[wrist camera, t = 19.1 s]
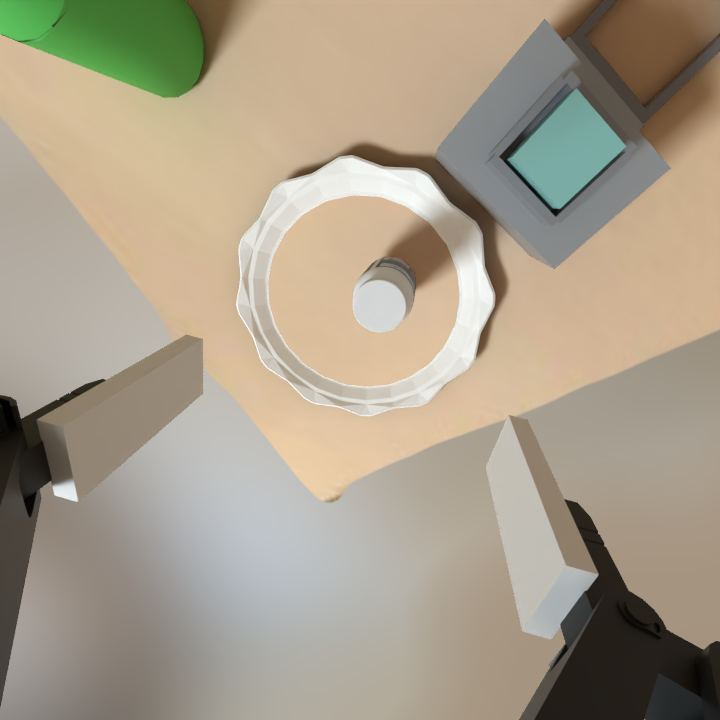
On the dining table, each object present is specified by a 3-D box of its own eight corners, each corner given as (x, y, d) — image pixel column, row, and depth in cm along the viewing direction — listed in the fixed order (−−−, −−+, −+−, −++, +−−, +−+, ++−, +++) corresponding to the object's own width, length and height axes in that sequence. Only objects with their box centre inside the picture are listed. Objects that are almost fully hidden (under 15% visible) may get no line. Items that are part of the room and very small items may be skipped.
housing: (660, -112, 27) (788, -281, 17) (769, 37, 29) (936, -42, 19) (435, 158, 36) (438, 143, 27) (530, 255, 38) (564, 274, 29)
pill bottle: (378, 315, 42) (363, 347, 33) (355, 270, 40) (333, 291, 31) (425, 294, 40) (423, 323, 31) (403, 246, 38) (394, 261, 29)
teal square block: (560, 99, 26) (576, 88, 23) (605, 151, 26) (626, 146, 24) (503, 161, 28) (512, 157, 25) (547, 207, 28) (560, 208, 26)
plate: (546, 293, 40) (553, 299, 38) (371, 441, 52) (369, 452, 50) (345, 91, 35) (340, 84, 33) (204, 304, 47) (194, 309, 45)
